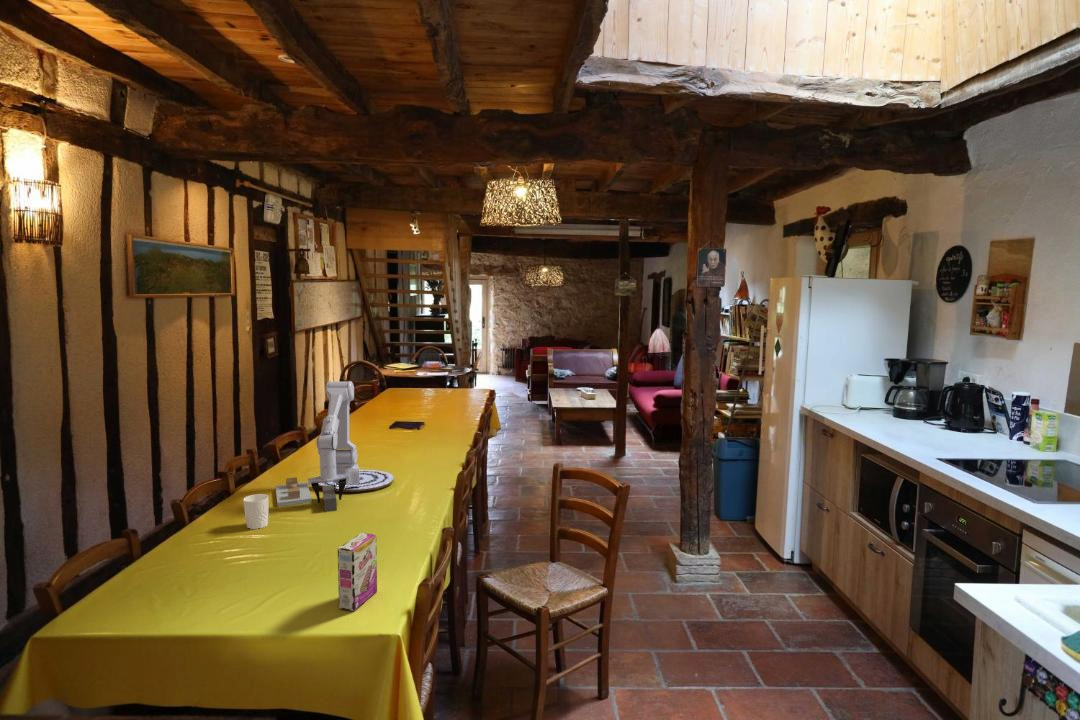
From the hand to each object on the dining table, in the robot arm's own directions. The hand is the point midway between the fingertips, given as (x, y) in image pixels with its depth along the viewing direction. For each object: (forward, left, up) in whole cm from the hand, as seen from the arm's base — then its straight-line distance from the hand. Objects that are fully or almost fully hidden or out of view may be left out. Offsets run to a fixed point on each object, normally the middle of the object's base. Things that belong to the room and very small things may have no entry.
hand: (329, 500), depth 236 cm
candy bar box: (+1, +79, -2) cm, 79 cm away
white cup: (+25, +12, -2) cm, 28 cm away
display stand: (+12, -16, -1) cm, 20 cm away
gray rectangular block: (0, 0, -2) cm, 2 cm away
